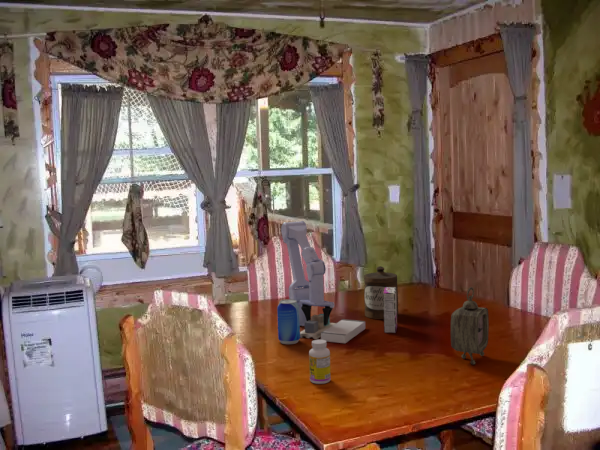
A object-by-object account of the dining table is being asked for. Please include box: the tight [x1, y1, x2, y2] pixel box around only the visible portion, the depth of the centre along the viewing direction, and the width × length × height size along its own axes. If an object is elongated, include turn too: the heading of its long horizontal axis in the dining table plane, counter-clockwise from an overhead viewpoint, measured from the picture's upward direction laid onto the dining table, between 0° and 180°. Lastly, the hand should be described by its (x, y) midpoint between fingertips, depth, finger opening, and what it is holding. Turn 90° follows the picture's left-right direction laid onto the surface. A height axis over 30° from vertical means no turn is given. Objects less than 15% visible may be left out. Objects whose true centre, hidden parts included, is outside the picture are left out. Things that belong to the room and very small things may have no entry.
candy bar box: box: [383, 287, 398, 334], centre depth 254 cm, size 11×5×16 cm, turn 168°
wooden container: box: [363, 266, 399, 320], centre depth 277 cm, size 15×15×22 cm
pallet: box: [300, 314, 337, 340], centre depth 254 cm, size 8×19×7 cm, turn 154°
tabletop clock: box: [450, 287, 490, 366], centre depth 213 cm, size 14×9×25 cm, turn 148°
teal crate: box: [318, 313, 331, 326], centre depth 259 cm, size 4×4×4 cm
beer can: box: [276, 298, 301, 345], centre depth 241 cm, size 8×8×16 cm
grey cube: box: [304, 320, 318, 333], centre depth 249 cm, size 4×4×4 cm
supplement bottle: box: [308, 339, 332, 385], centre depth 197 cm, size 7×7×13 cm
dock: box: [320, 318, 366, 344], centre depth 249 cm, size 10×22×3 cm, turn 154°
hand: (317, 323), depth 254 cm, fingers open, 7 cm apart
